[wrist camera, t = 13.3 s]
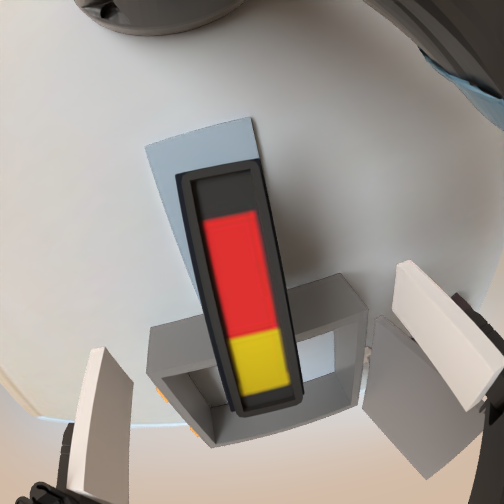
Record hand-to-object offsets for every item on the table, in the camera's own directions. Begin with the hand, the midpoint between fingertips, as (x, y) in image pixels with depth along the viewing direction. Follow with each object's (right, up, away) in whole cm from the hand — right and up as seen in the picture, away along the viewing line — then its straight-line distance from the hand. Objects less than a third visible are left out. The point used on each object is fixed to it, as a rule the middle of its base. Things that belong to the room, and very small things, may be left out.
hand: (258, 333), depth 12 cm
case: (+3, -9, +21) cm, 23 cm away
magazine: (-3, +6, +12) cm, 13 cm away
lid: (+15, -12, +10) cm, 22 cm away
